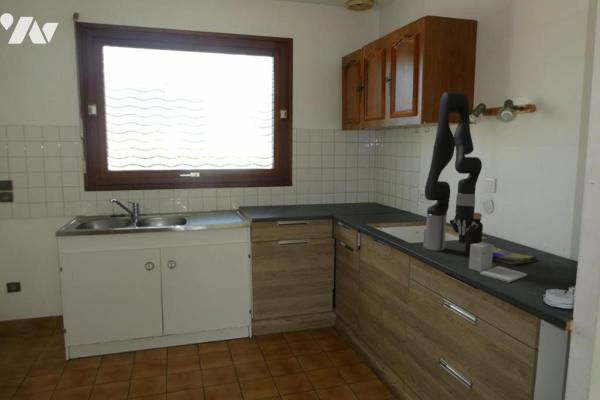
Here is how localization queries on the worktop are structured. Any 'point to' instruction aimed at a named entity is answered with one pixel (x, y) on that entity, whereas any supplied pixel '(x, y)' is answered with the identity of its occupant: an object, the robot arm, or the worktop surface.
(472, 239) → the bottle
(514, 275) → the mat
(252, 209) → the worktop surface
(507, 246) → the worktop surface
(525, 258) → the dish towel
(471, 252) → the small box
